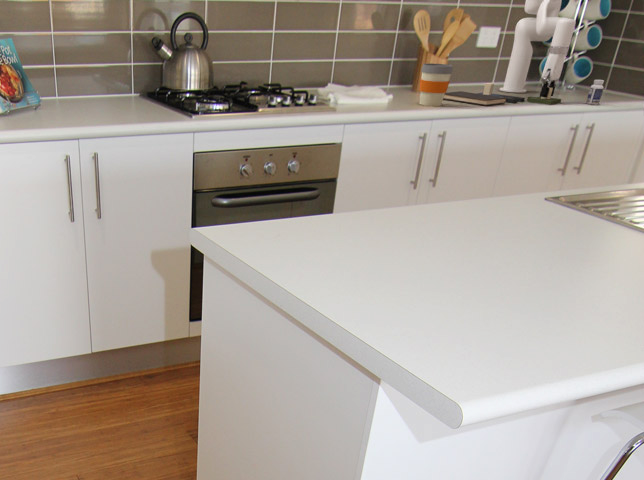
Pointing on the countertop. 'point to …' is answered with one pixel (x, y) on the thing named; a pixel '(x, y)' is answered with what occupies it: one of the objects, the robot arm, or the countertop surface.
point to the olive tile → (544, 99)
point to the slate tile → (489, 90)
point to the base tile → (513, 99)
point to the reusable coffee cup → (434, 83)
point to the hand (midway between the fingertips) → (546, 96)
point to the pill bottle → (595, 92)
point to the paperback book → (474, 98)
